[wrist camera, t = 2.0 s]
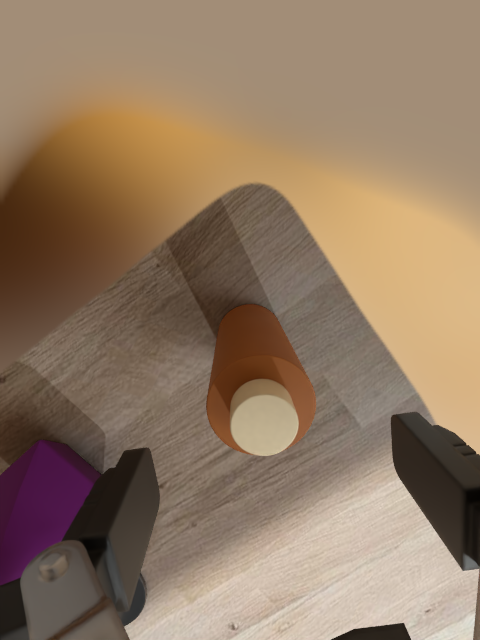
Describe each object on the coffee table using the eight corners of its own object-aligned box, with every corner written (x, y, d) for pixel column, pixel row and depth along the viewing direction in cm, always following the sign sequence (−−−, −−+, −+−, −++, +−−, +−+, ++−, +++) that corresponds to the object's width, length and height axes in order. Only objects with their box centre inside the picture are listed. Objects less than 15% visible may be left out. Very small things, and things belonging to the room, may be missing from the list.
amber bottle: (211, 357, 26) (191, 466, 14) (226, 297, 25) (218, 355, 13) (272, 371, 26) (305, 489, 14) (289, 312, 25) (340, 383, 13)
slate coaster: (48, 617, 31) (45, 622, 31) (59, 544, 29) (57, 548, 29) (138, 633, 32) (136, 637, 31) (154, 561, 30) (153, 566, 29)
